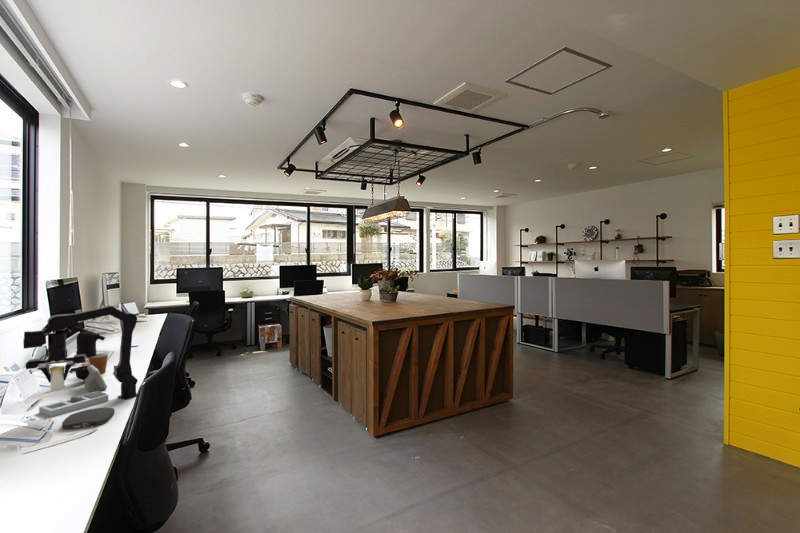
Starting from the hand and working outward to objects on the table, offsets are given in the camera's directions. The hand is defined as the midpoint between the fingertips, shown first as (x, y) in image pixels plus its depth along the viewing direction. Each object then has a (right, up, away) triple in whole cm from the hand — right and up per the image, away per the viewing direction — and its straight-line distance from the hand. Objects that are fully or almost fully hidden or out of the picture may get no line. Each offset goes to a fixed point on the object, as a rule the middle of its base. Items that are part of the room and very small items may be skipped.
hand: (57, 381), depth 163 cm
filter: (-19, -12, +40) cm, 46 cm away
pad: (+6, -10, +13) cm, 17 cm away
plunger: (+3, -12, +6) cm, 14 cm away
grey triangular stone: (-7, -13, +30) cm, 34 cm away
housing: (+3, -13, +6) cm, 14 cm away
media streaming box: (+21, -14, -9) cm, 27 cm away
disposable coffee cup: (-25, -12, +54) cm, 61 cm away
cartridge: (0, -4, 0) cm, 4 cm away
